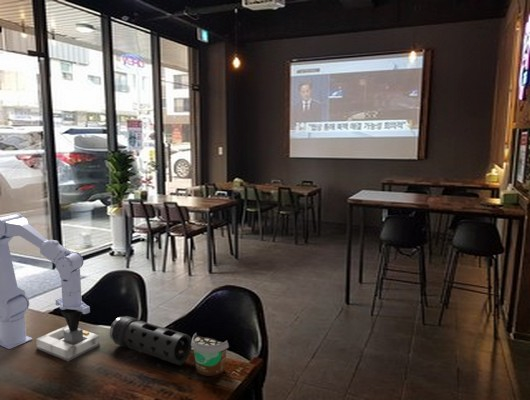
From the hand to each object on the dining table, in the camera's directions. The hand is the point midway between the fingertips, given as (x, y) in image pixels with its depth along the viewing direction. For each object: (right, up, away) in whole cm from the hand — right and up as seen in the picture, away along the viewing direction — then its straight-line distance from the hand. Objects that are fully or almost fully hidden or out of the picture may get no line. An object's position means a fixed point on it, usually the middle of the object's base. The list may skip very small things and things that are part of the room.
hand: (73, 329), depth 136 cm
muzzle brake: (+26, -8, -2) cm, 27 cm away
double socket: (-3, -7, +3) cm, 8 cm away
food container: (+45, -9, -11) cm, 48 cm away
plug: (0, -6, +1) cm, 6 cm away
